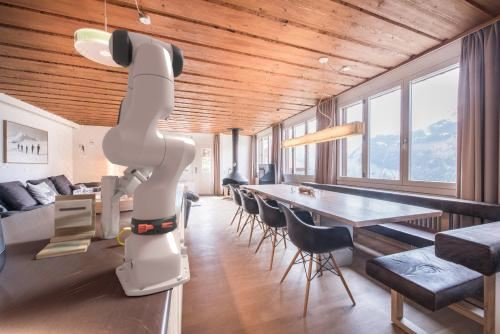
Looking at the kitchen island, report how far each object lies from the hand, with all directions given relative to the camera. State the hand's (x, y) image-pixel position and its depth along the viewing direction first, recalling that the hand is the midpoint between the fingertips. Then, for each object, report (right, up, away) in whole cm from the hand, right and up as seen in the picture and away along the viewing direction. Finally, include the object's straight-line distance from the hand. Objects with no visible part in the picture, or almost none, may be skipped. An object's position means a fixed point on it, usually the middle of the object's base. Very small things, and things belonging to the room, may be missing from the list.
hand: (108, 200), depth 87 cm
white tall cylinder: (0, -15, 0) cm, 15 cm away
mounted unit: (-13, -15, -1) cm, 20 cm away
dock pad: (-6, -15, -13) cm, 21 cm away
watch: (+12, -15, -8) cm, 21 cm away
